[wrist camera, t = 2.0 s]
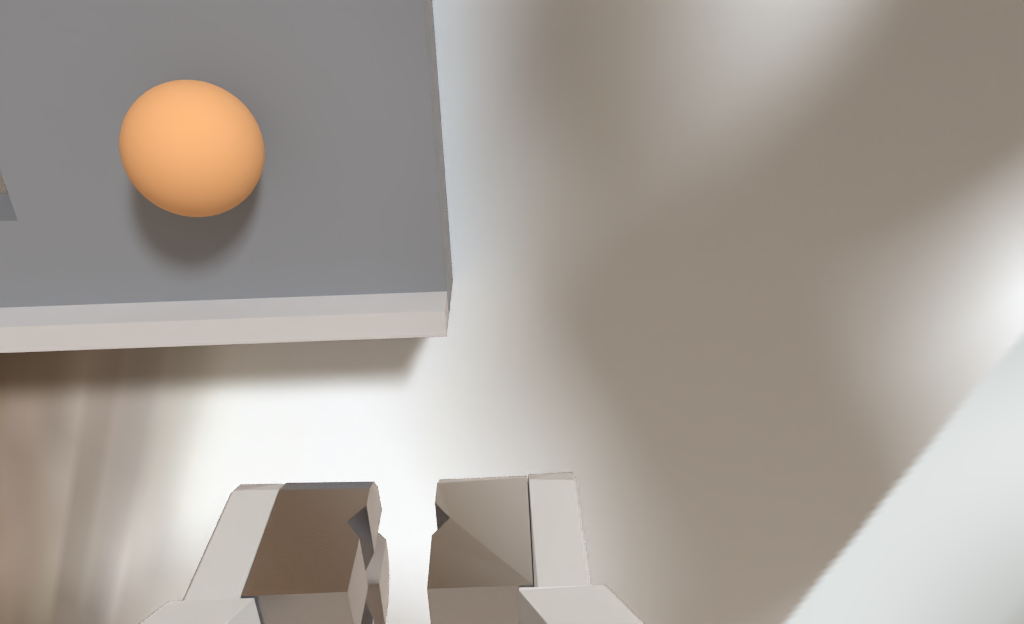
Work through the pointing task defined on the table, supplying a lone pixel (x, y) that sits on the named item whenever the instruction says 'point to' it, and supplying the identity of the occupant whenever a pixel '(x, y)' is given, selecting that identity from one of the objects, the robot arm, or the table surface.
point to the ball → (191, 148)
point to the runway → (255, 221)
